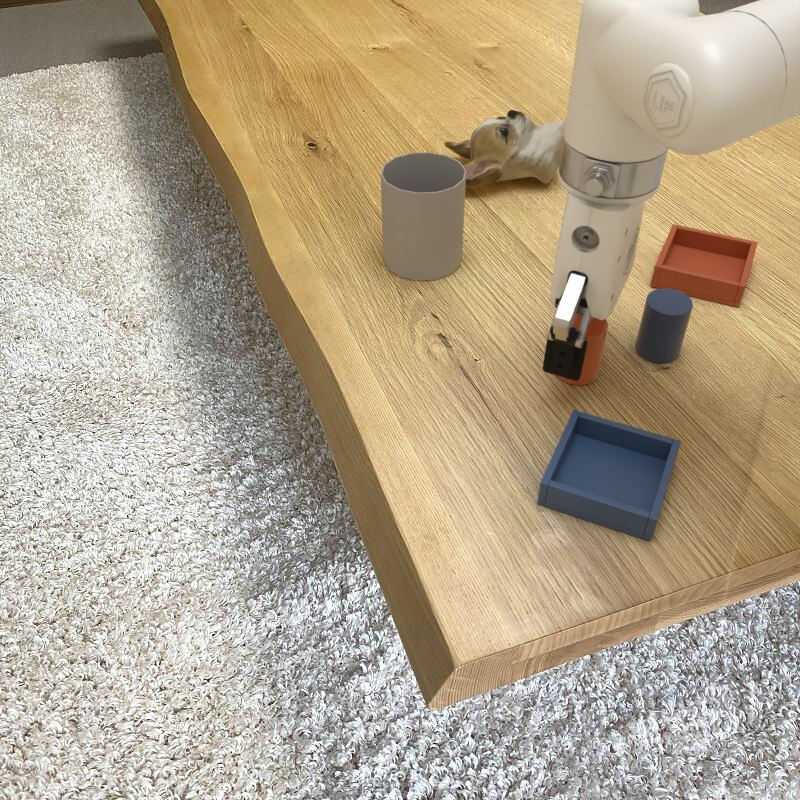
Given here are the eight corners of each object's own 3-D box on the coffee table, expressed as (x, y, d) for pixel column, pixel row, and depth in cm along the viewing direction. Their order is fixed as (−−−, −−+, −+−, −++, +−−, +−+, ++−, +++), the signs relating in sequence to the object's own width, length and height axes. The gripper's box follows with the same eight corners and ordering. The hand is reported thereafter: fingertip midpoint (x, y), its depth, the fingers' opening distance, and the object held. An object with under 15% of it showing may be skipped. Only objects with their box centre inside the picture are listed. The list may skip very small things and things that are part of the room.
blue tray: (674, 462, 67) (681, 440, 66) (650, 541, 61) (656, 520, 60) (569, 430, 70) (573, 409, 68) (536, 504, 64) (540, 482, 62)
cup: (370, 270, 87) (367, 183, 81) (400, 231, 93) (399, 146, 86) (446, 287, 85) (449, 199, 78) (472, 246, 91) (477, 160, 84)
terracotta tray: (751, 262, 88) (758, 241, 86) (738, 307, 82) (745, 286, 80) (667, 243, 91) (672, 223, 89) (649, 286, 85) (654, 266, 83)
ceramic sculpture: (578, 128, 91) (441, 134, 93) (573, 199, 97) (444, 204, 98) (569, 89, 99) (442, 95, 101) (564, 157, 105) (445, 162, 106)
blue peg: (683, 342, 78) (697, 294, 75) (674, 368, 76) (688, 319, 72) (640, 331, 80) (652, 283, 76) (630, 356, 77) (641, 308, 73)
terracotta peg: (603, 363, 76) (613, 315, 72) (591, 390, 74) (601, 341, 70) (561, 351, 77) (568, 303, 74) (548, 378, 75) (555, 329, 71)
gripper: (633, 231, 55) (592, 416, 67) (685, 123, 66) (642, 297, 78) (525, 206, 57) (503, 389, 69) (593, 106, 69) (565, 278, 80)
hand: (577, 340), depth 74 cm, fingers open, 9 cm apart
